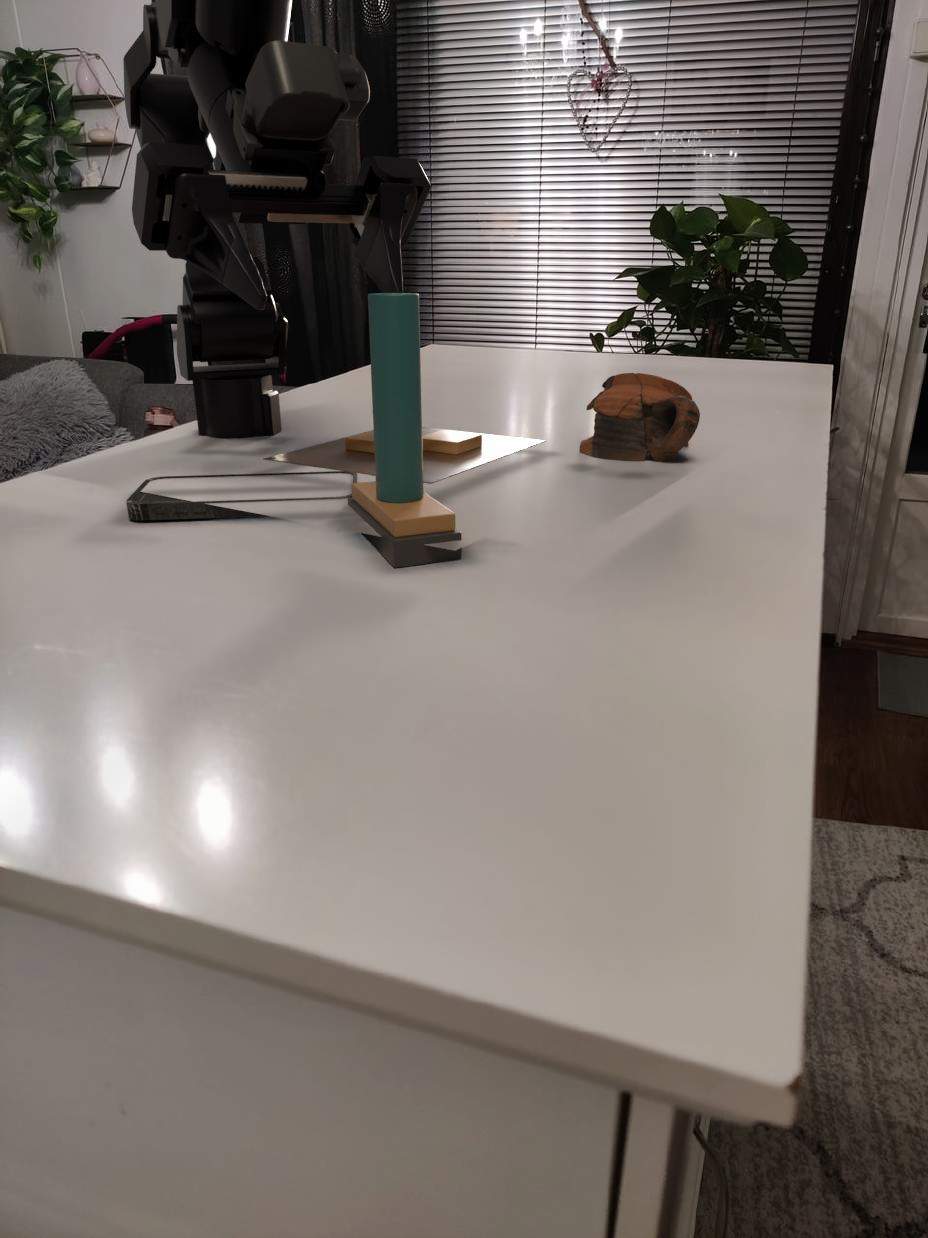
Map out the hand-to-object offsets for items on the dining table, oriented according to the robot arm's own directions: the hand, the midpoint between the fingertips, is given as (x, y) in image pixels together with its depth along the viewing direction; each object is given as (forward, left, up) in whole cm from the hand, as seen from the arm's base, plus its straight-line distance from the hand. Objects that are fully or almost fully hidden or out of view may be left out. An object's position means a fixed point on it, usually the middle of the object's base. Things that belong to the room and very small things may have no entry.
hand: (333, 302), depth 54 cm
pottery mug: (+21, +16, -13) cm, 30 cm away
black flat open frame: (-7, +1, -13) cm, 15 cm away
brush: (+5, -6, -13) cm, 15 cm away
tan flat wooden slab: (+5, +16, -12) cm, 21 cm away
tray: (+2, +15, -13) cm, 20 cm away
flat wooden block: (-1, +15, -12) cm, 20 cm away
